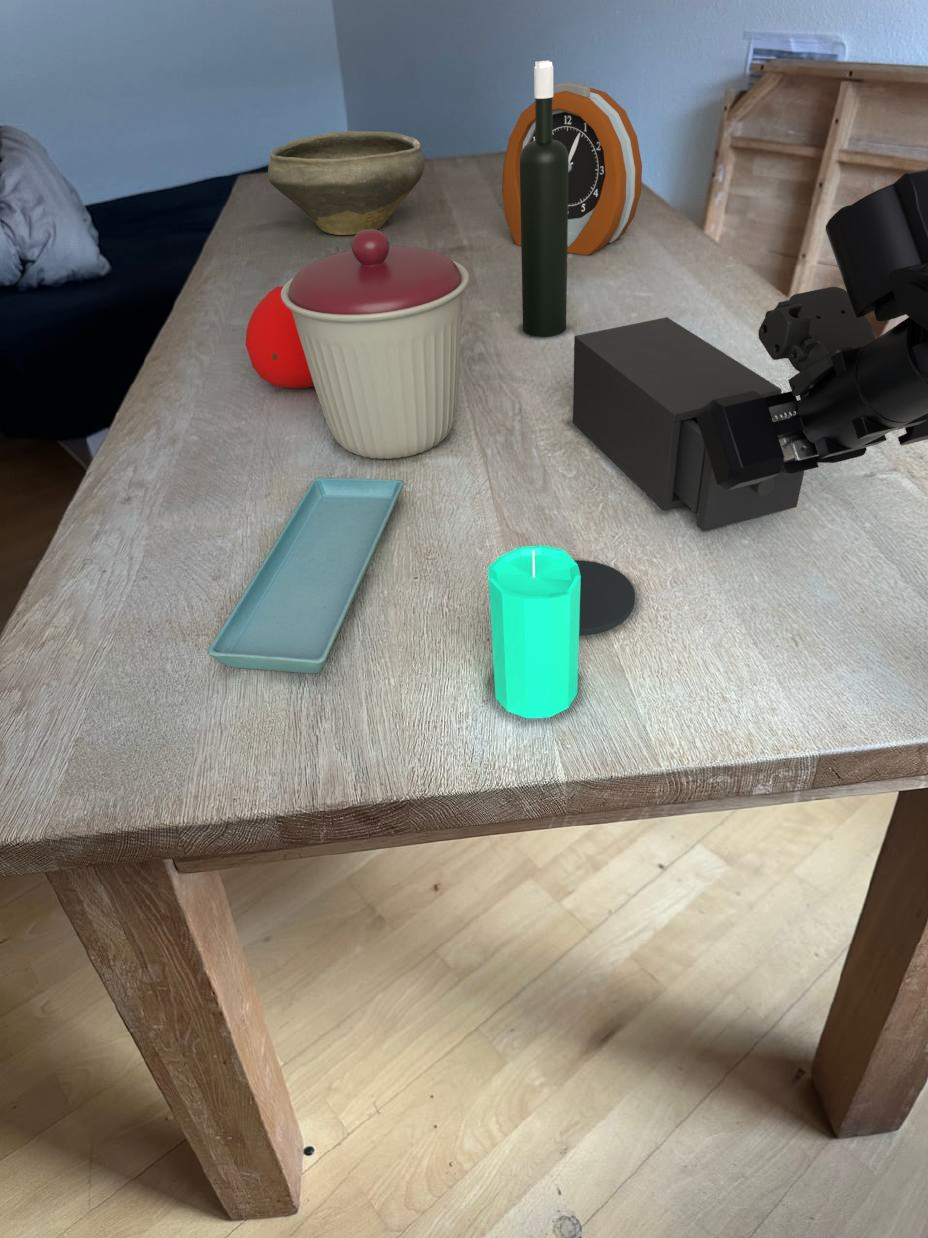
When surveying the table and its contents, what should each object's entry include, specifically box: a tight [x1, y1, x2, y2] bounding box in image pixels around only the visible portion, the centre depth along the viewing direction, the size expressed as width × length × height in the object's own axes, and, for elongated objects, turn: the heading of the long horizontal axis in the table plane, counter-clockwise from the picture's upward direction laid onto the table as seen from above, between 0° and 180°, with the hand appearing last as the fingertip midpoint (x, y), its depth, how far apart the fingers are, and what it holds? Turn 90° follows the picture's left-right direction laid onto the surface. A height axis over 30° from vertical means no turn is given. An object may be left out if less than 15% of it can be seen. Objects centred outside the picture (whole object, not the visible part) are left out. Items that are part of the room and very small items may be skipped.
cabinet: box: [572, 316, 783, 512], centre depth 82 cm, size 20×11×10 cm, turn 19°
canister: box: [281, 229, 470, 460], centre depth 85 cm, size 18×18×21 cm
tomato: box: [245, 285, 315, 389], centre depth 101 cm, size 13×13×13 cm
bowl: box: [267, 130, 425, 236], centre depth 153 cm, size 28×28×14 cm
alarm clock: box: [501, 81, 643, 256], centre depth 135 cm, size 22×10×23 cm, turn 53°
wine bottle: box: [520, 59, 569, 338], centre depth 103 cm, size 6×6×30 cm
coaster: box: [573, 559, 636, 636], centre depth 68 cm, size 9×9×1 cm
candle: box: [487, 544, 581, 719], centre depth 57 cm, size 6×6×12 cm
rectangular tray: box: [207, 477, 405, 674], centre depth 72 cm, size 26×9×2 cm, turn 170°
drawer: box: [673, 417, 805, 533], centre depth 77 cm, size 20×9×8 cm, turn 19°
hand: (764, 455), depth 69 cm, fingers closed, pressing on drawer
